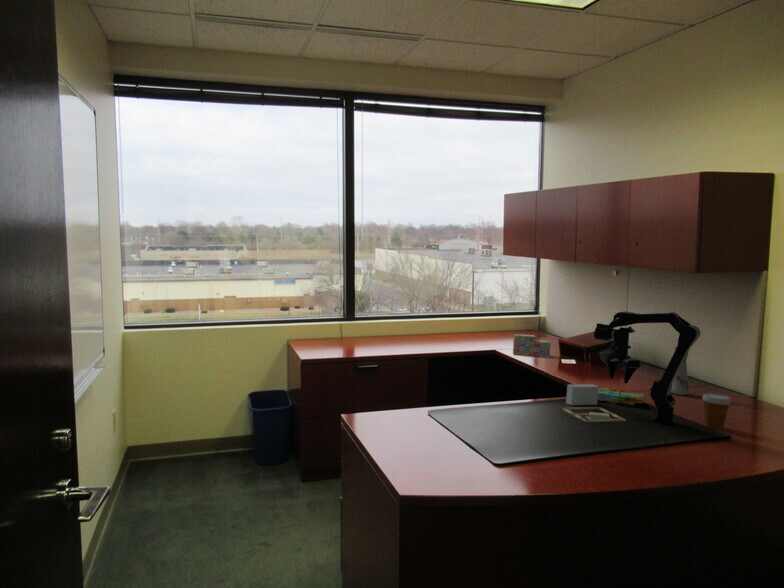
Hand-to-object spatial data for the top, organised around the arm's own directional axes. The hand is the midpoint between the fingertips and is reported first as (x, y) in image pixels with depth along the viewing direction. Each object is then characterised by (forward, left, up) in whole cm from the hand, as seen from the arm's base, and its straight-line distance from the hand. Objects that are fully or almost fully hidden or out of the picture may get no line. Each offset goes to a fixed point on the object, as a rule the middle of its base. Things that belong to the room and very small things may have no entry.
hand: (618, 380), depth 237 cm
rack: (-8, +16, -13) cm, 22 cm away
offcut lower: (-12, +16, -13) cm, 24 cm away
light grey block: (+8, +11, -13) cm, 19 cm away
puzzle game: (+14, -11, -13) cm, 22 cm away
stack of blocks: (+117, -22, -13) cm, 119 cm away
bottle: (+26, -51, -13) cm, 58 cm away
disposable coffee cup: (-22, -27, -13) cm, 37 cm away
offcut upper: (-12, +16, -11) cm, 23 cm away
